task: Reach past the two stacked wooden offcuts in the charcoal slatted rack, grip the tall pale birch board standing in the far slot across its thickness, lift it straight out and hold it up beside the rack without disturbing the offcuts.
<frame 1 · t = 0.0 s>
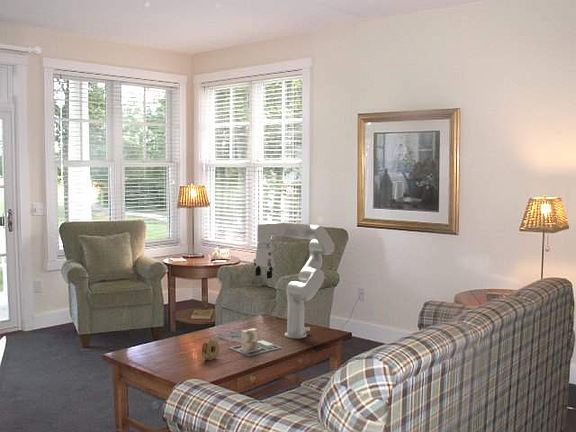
hand: (263, 276, 341), 37 cm above the table, tool pointing down, fingers open, 9 cm apart
upper offcut: (264, 346, 333), point 1 cm above the table, touching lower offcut
tan rounded piece: (210, 359, 314), on the table
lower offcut: (265, 350, 333), on the table, touching upper offcut
rack: (255, 351, 329), on the table
picture frame: (240, 340, 352), on the table
birch board: (249, 352, 326), on the table
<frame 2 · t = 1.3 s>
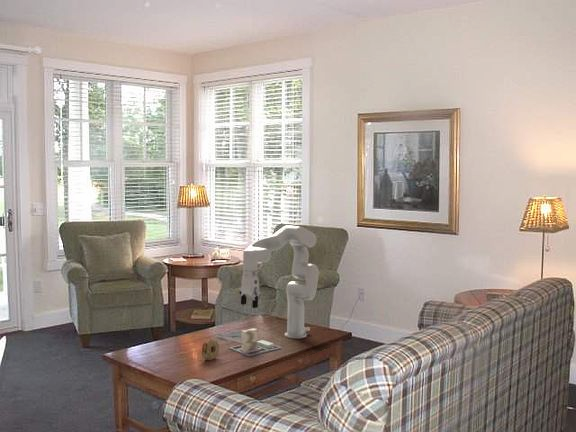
hand: (249, 306, 324), 25 cm above the table, tool pointing down, fingers open, 9 cm apart
nothing on the table moved.
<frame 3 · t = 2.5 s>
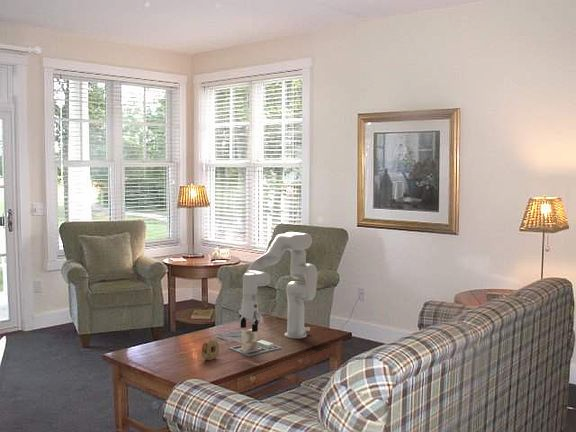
hand: (249, 329, 325), 12 cm above the table, tool pointing down, fingers open, 9 cm apart
nothing on the table moved.
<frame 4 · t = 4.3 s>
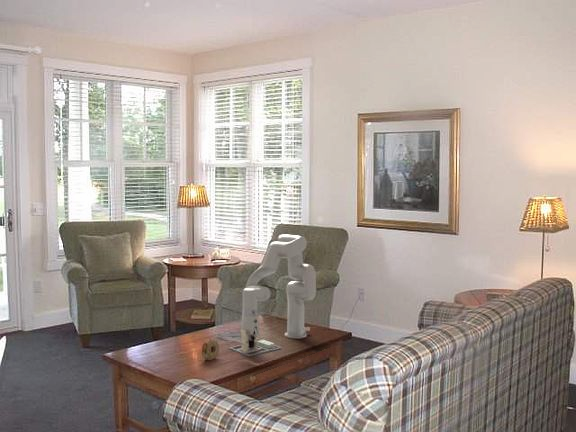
hand: (249, 346, 326), 3 cm above the table, tool pointing down, fingers closed on birch board, 3 cm apart
upper offcut: (265, 346, 334), point 1 cm above the table
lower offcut: (265, 349, 334), on the table
birch board: (249, 352, 326), on the table, touching gripper
everything else where it was.
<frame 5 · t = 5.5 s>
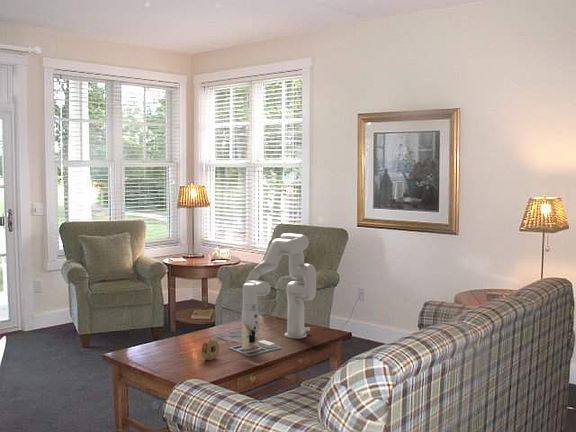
hand: (249, 341, 326), 6 cm above the table, tool pointing down, fingers closed on birch board, 3 cm apart
upper offcut: (266, 346, 334), point 1 cm above the table, touching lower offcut
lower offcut: (266, 349, 334), on the table, touching upper offcut
birch board: (249, 347, 327), point 3 cm above the table, touching gripper
everything else where it was.
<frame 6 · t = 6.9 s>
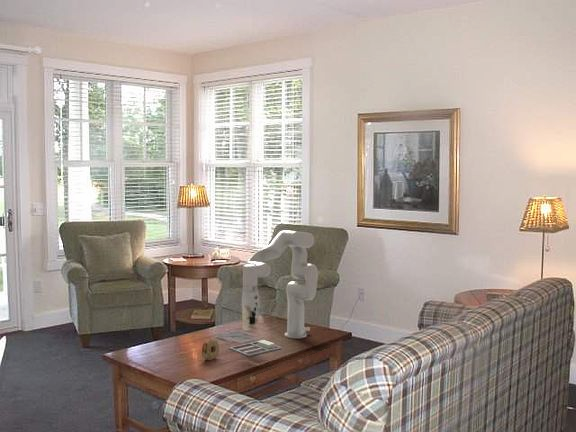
hand: (250, 322, 325), 16 cm above the table, tool pointing down, fingers closed on birch board, 3 cm apart
birch board: (250, 328, 326), point 12 cm above the table, touching gripper
everything else where it was.
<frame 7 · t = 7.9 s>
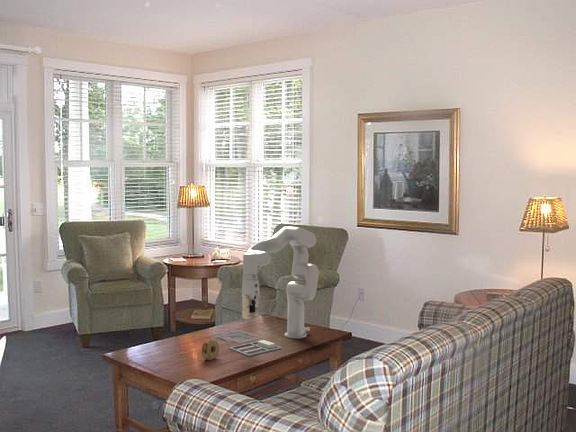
hand: (250, 311, 325), 22 cm above the table, tool pointing down, fingers closed on birch board, 3 cm apart
birch board: (250, 317, 325), point 18 cm above the table, touching gripper
everything else where it was.
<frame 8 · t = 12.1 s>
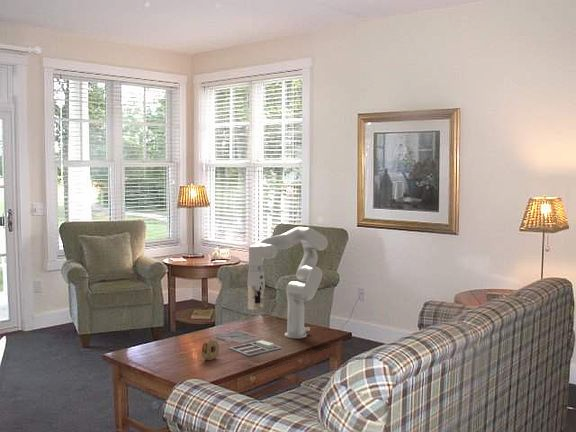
hand: (255, 302, 336), 24 cm above the table, tool pointing down, fingers closed on birch board, 3 cm apart
upper offcut: (265, 346, 333), point 1 cm above the table
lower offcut: (265, 350, 333), on the table
birch board: (255, 308, 336), point 21 cm above the table, touching gripper
everything else where it was.
at the end: the gripper is holding birch board; birch board point 20.8 cm above the table; upper offcut moved 0.6 cm from its start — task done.
